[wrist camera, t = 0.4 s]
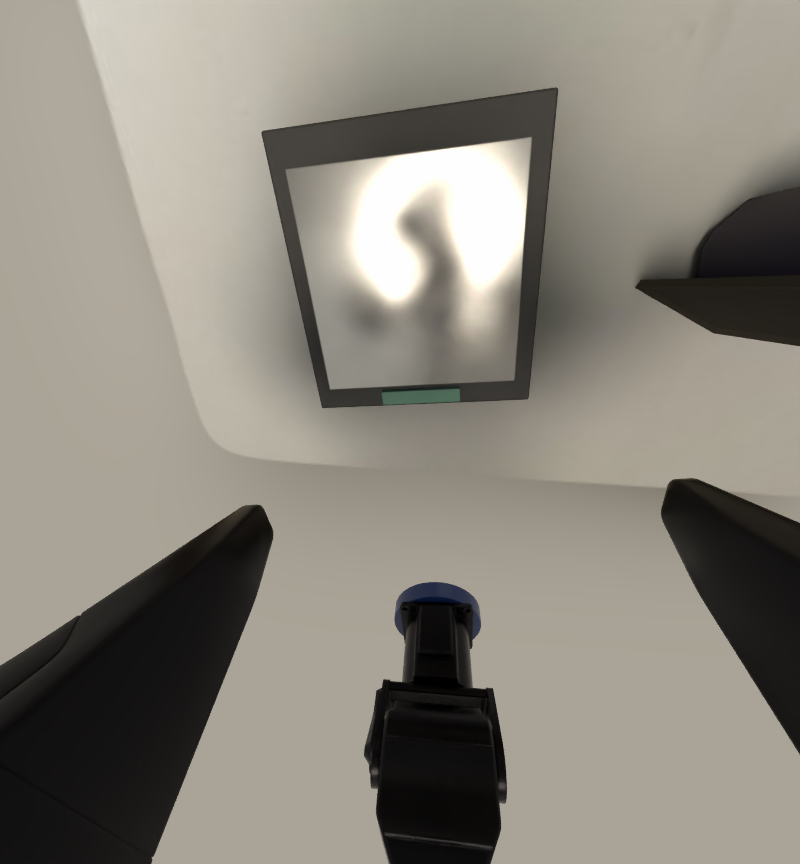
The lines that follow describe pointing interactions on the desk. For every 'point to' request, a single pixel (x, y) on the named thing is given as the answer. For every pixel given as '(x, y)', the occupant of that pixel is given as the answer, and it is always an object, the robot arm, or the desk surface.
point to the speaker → (745, 274)
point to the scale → (418, 247)
